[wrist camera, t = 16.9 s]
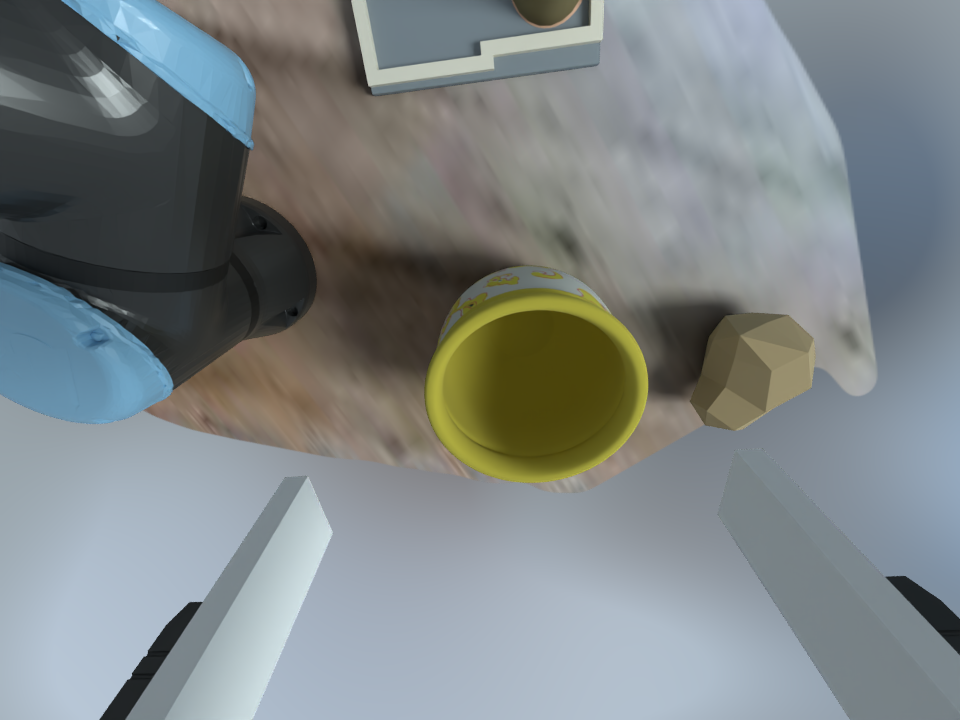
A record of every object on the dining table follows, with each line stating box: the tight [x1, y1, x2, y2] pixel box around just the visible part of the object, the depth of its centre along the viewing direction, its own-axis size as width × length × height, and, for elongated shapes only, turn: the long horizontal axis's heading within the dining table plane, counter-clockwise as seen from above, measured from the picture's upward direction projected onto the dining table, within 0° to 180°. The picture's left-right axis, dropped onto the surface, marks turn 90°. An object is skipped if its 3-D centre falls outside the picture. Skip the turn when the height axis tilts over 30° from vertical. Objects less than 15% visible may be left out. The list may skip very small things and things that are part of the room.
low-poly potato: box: [690, 313, 816, 431], centre depth 41 cm, size 15×11×12 cm
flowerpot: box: [424, 266, 648, 483], centre depth 37 cm, size 18×18×16 cm
